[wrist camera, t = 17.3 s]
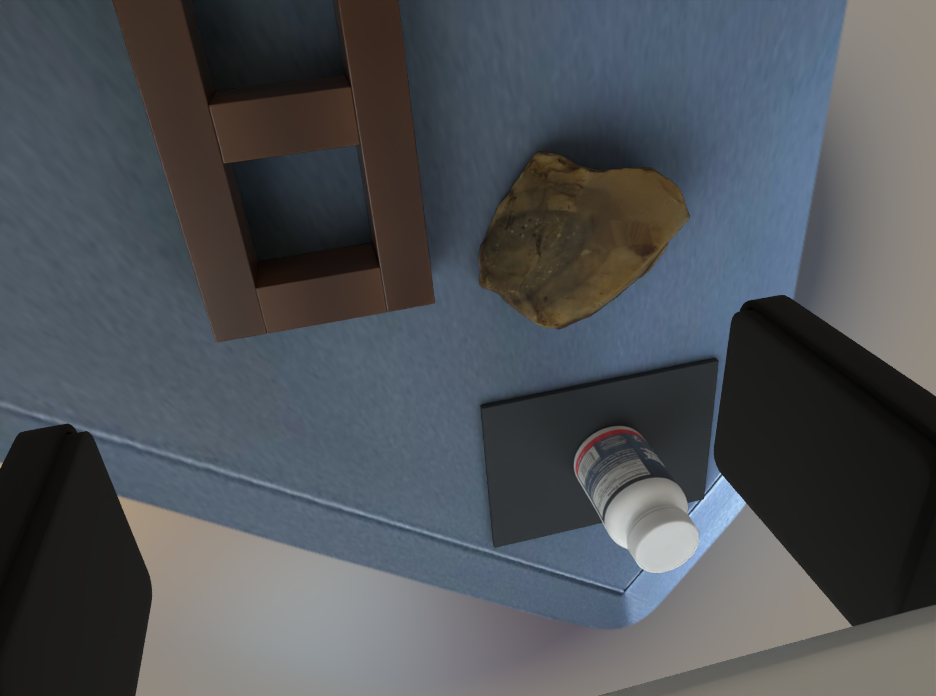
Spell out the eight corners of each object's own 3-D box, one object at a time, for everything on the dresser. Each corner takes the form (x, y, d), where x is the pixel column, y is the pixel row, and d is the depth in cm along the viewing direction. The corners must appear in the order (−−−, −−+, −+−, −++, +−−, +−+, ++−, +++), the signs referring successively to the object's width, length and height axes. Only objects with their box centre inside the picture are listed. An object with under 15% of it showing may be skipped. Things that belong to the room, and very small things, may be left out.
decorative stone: (579, 337, 44) (601, 366, 41) (451, 275, 40) (466, 302, 37) (683, 189, 41) (715, 209, 38) (555, 105, 37) (580, 120, 34)
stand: (220, 312, 38) (215, 343, 35) (93, -126, 28) (71, -134, 25) (423, 277, 40) (435, 304, 37) (369, -148, 30) (379, -158, 27)
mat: (492, 544, 51) (494, 548, 51) (480, 405, 45) (481, 408, 45) (701, 495, 53) (704, 499, 53) (715, 357, 47) (719, 360, 47)
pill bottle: (654, 462, 50) (720, 554, 42) (588, 498, 50) (642, 595, 43) (630, 410, 47) (697, 498, 40) (560, 447, 47) (613, 542, 40)
